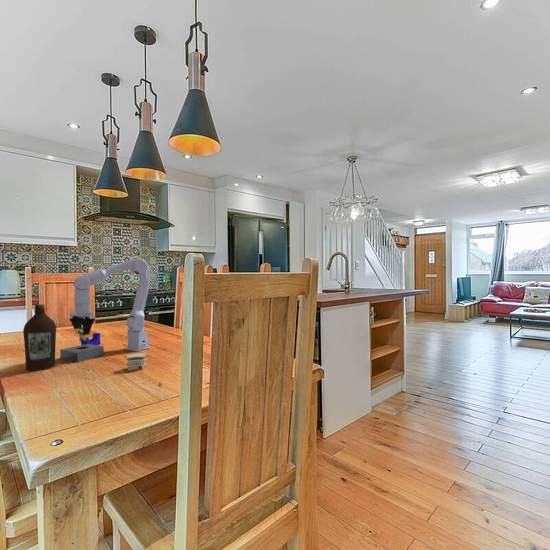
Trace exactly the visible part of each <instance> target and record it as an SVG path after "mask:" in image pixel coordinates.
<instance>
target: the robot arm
mask: <svg viewBox="0 0 550 550" xmlns="http://www.w3.org/2000/svg"><path fill="white" fill-rule="evenodd" d="M123 271H131V272H132V273H133V274H135V275H136V276H137V278H139V280H138V284H137V290H136V294H135V297H134V302H133V307H132V310H131V312H130V313H129V316H128V318H127V319H126V321H125V322H126V326H127V327H128V328H127V347H123V350H126V351H133V352H139V351H143V350H146V349H150V348H151V346H149V345H150V344H149V334H148V333H147V332H146V331H144V328H145V325H146V322H145V318H146V317H145V316H146V315H145V313H144V311H145V307H146V302H147V298H148V294H149V289H150V286H151V281H152V275H151V270H150V268H149V264H148V263H147V261H146V260H145V259H143V258H140V257H139V258H133V259H129V260H125V261H122V262H120V263H117V264H115V265H112V266H111V267H108V268H106V269H103V268H94V270H93V271H91V272H88V273H83V274H82V276H81V275H80V276H77V277H76V278H75V279H74V280H73V282H72V286H73V287H74V293H73V294H74V311H73V312H70V313H69V314H70V315H69V317H70V318H69V321H70V323H71V324H72V327H73V329H74V330H73V331H75V328H79V327H83V333H84V335H86V336H88V335H90V334H91V328H92V326H93V324H94V323H95V321H96V318H95V315H96V314H95V313H92V312H90V289H89V288H90V287H91V286H92V287H93V286H95V285H97V284H101V283H102V282H105V281H106V280H107V278H108V277H109V276H111V275H114V274H117V273H119V272H123Z"/></svg>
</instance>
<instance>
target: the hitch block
mask: <svg viewBox="0 0 550 550" xmlns="http://www.w3.org/2000/svg"><path fill="white" fill-rule="evenodd" d="M59 352H60V354H59V355H60V356H59V357H60V360H65V361H71V362H76V363H79V362H83V361H87V360H90V359H95V358H99V357H103V356H104V355H105V353H104V346H103V345H91V344H84V345H81V344H80V345H75V346H71V347H66V348H61V349H60V350H59Z"/></svg>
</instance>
